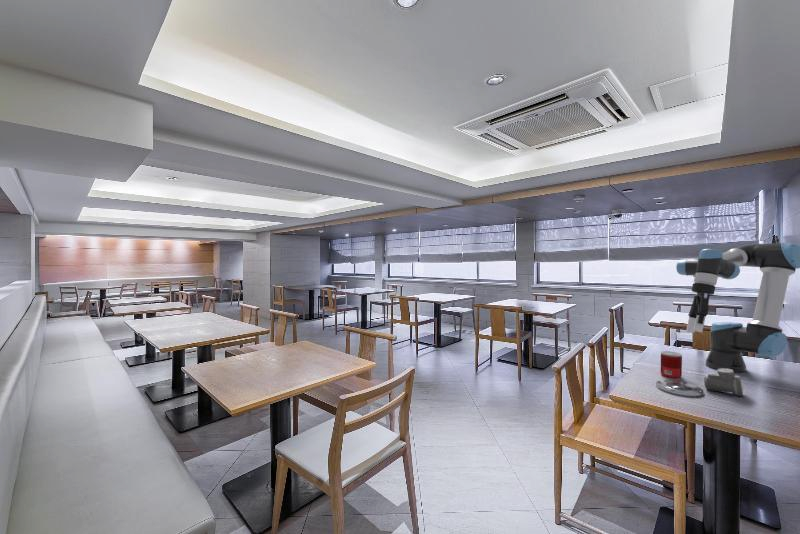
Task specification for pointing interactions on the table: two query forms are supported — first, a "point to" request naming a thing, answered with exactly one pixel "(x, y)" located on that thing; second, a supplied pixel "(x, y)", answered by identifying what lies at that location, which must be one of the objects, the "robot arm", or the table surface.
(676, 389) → the duct flange
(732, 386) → the pipe fitting
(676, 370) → the canned food
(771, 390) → the table surface
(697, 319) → the robot arm
